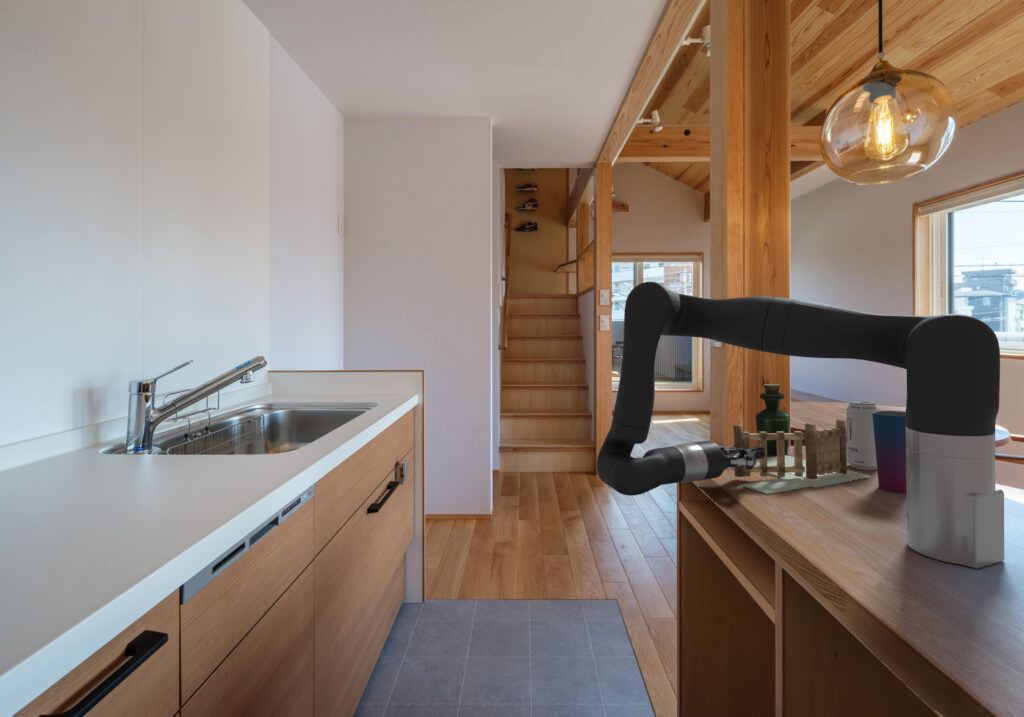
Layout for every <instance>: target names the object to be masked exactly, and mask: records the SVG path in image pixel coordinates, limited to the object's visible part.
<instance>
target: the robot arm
mask: <svg viewBox="0 0 1024 717" xmlns="http://www.w3.org/2000/svg"><path fill="white" fill-rule="evenodd" d="M661 336H663V337H664V336H667V337H669V336H672V337H689V338H690V337H691V338H699V339H700V338H701V339H707V340H711V341H712V340H713V341H716V342H720V343H724V344H726V345H729V346H735V347H739V348H742V349H743V348H744V349H748V350H752V351H757V352H763V353H768V354H769V353H770V354H776V355H781V356H788V357H799V358H813V359H840V360H841V359H842V360H844V359H846V360H847V359H849V360H859V361H867V362H873V363H877V364H882V365H887V366H892V367H896V368H900V369H905V370H906V402H905V403H906V404H905V405H906V406H905V412H906V493H905V495H906V544H907V545H908V548H910V549H912V550H913V551H915V552H916V553H919V554H921V555H923V556H926V557H928V558H931V559H935V560H938V561H941V562H944V563H945V562H947V563H950V564H957V565H963V566H966V567H970V568H972V569H980V568H981V569H982V568H984V567H987V566H991V565H995V564H997V563H1000V562H1004V561H1005V492H1004V490H1002V489H1001V488H996V420H997V417H998V414H999V409H1000V393H1001V392H1000V391H1001V390H1000V389H1001V388H1000V387H1001V386H1000V384H1001V351H1000V342H999V339H998V337H997V334H996V333H995V331H994V330H993V329H992V328H991V326H989V325H988V324H987V323H986V322H984V321H983V320H981V319H979V318H976V317H973V316H970V315H968V314H967V315H966V314H961V313H959V314H958V313H947V314H939V315H905V314H904V315H903V314H901V315H899V314H897V315H896V314H880V313H869V312H864V311H860V310H859V311H858V310H853V309H850V308H845V307H841V306H837V305H832V304H828V303H821V302H817V301H810V300H804V299H799V298H798V299H797V298H789V297H787V298H786V297H779V296H778V297H777V296H775V297H774V296H759V295H758V296H757V295H756V296H741V297H740V296H739V297H731V298H721V299H720V298H717V299H715V298H705V297H699V296H694V295H688V294H684V293H680V292H677V291H673V290H671V289H670V288H668V287H667V286H665V285H663V284H662V283H659V282H656V281H645V282H641V283H639V284H637V285H636V286H634V287H633V288H632V290H631V291H630V292H629V293H628V295H627V298H626V300H625V304H624V317H623V344H622V345H623V346H622V355H621V356H622V357H621V368H620V374H619V382H618V388H617V393H616V399H615V404H614V409H613V414H612V419H611V426H610V428H609V430H608V433H607V435H606V436H605V439H604V441H603V442H602V443H603V444H602V445H601V448H600V450H599V451H598V455H597V459H596V472H597V475H598V477H599V479H600V480H601V482H603V483H604V484H605V485H607V486H609V487H610V488H612V489H613V490H614V491H615V492H617V493H619V494H621V495H623V496H628V497H629V496H631V497H632V496H641V495H643V494H646V493H647V492H650V491H652V490H654V489H656V488H658V487H660V486H662V485H663V486H664V485H671V484H678V483H692V482H700V481H703V480H704V481H705V480H712V479H718V478H719V477H721V476H722V474H723V473H724V471H725V470H732V469H734V467H737V466H742V465H744V467H746V469H748V470H751V469H753V468H754V466H755V464H756V459H761V458H764V457H765V449H764V448H762V447H759V445H758V446H752V447H751V446H750V448H744V447H739V448H736V446H734V445H718V444H716V443H715V442H714V441H712V440H703V441H702V440H701V441H695V442H686V443H680V444H676V445H672V446H667V447H657V448H652V449H649V450H647V451H646V452H645V453H644V454H643V456H642V457H633V456H632V452H633V450H634V447H635V445H639V444H644V443H645V442H646V440H647V439H648V436H649V434H650V433H649V431H650V427H651V424H652V423H651V421H652V417H653V412H654V406H655V396H656V395H655V393H656V392H655V391H656V390H655V388H656V386H655V385H656V384H655V383H656V382H655V364H656V357H657V351H658V350H657V349H658V345H659V342H660V338H661Z"/></svg>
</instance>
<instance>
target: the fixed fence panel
mask: <svg viewBox="0 0 1024 717" xmlns="http://www.w3.org/2000/svg"><path fill="white" fill-rule="evenodd" d="M835 424H836V425H835V426H836V427H831V428H823V429H817V424H816V423H812V422H805V423H804V440H805V442H804V443H805V445H804V446H805V448H804V449H805V460H806V478H808V479H817V474H818V475H825V473H827V474H831V473H833V472H836V473H837V472H838V473H842V474H847V470H848V464H847V463H848V462H847V419H842V418H841V419H839V418H838V419H836V420H835Z"/></svg>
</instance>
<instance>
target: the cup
mask: <svg viewBox="0 0 1024 717" xmlns="http://www.w3.org/2000/svg"><path fill="white" fill-rule="evenodd" d="M872 416H873V427H874V438H875V450H876V461H877V469H876V470H877V479H878V488H879V489H881V490H882V489H883V491H885V490H886V492H890V493H899V494H906V411H903V410H879V411H873V412H872Z"/></svg>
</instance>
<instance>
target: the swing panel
mask: <svg viewBox="0 0 1024 717" xmlns="http://www.w3.org/2000/svg"><path fill="white" fill-rule="evenodd" d="M732 426H733V429H732V430H733V446H736V448H739V447H744V448H750V447H751V446H750V441H758V440H759V444H758V447H762V448H764V449H765V457H764V458H761V459H760V466H754V468H753V469H751V470H748V469H746V467H744V465H742V466H737V467H734V468H733V469H734V470H733V471H734V476H735V477H737V478H744V477H747V478H748V477H750V478H751V473H759V476H760V477H768V476H769V474H768V472H777V475H778V476H779V477H778V478H780V477H785V472H795V476H797V477H803V472H805V467H804V466H803V460H804V459H803V440H805V433H803V432H802V431H801V430H800V431H799V430H794V431H793V432H789V433H784V432H783V431H776V433H767V432H759V433H757V432H756V433H750V432H749V431H743V429H744V428H743V427H744V426H743V424H733V425H732ZM767 440H777V466H767V458H768V455H767ZM784 440H789V441H791V440H793V451H794V454H793V457H794V464H795V466H785V444H784Z"/></svg>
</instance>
